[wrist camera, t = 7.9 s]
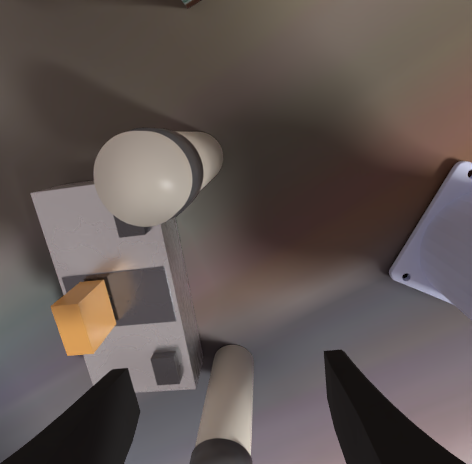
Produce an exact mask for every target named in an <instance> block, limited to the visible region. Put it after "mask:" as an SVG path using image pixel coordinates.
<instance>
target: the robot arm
mask: <svg viewBox="0 0 472 464" xmlns="http://www.w3.org/2000/svg"><path fill="white" fill-rule="evenodd" d="M470 170H472V163H471V162H467V161H459V162H457V163H456V164H455V165H454V166H453V167H452V169H451V171H450V172H449V174H448V176H447V177H446V179H445V180H444V182H443V184H442V185H441V187H440V189H439V190H438V192H437V193H436V195H435V197H434V198H433V200H432V202H431V203H430V205H429V206H428V208H427V210H426V211H425V213H424V215H423V216H422V218H421V219H420V221H419V223H418V224H417V226H416V228H415V229H414V231H413V232H412V234H411V236H410V237H409V239H408V241H407V242H406V244H405V245H404V247H403V249H402V250H401V252H400V254H399V255H398V257H397V258H396V260H395V262H394V263H393V265H392V267H391V268H390V270H389V275H390V277H391V278H392V279H393V280H395V281H397V282H400V283H402V284H405V285H407V286H409V287H412V288H414V289H417V290H419V291H422V292H424V293H426V294H429V295H431V296H434V297H436V298H439V299H441V300H443V301H446V302H448V303H451V304H453V305H455V306H456V307H457V308H458V309H459V310H460V311H461V312H463V313H464V314H465V315H466V316H467V317H468V318H469V319H470V320H472V176H471V177H468V175H467V174H468V172H469V171H470ZM406 273H408V276H407V277H406V278H402V276H403V275H404V274H406ZM324 361H325V374H326V388H327V399H328V403H329V408H330V412H331V416H332V420H333V425H334V429H335V432H336V434H337V437H338V440H339V443H340V446H341V449H342V452H343V455H344V458H345V461H346V464H466V463H464V462H463V461H462V460H460V459H459V458H457V457H456V456H454V455H453V454H451V453H450V452H449V451H447V450H446V449H445V448H444V447H442V446H441V445H440V444H438V443H437V442H436V441H434V440H433V439H432V438H431V437H429V436H428V435H427V434H426V433H425V432H423V431H422V430H421V429H420V428H418V427H417V426H416V425H415V424H414V423H413V422H411V421H410V420H409V419H408V418H407V417H406V416H405V415H404V414H403V413H401V412H400V411H399V410H398V409H397V408H396V407H395V406H394V405H393V404H392V403H391V402H390V401H389V400H388V399H387V398H386V397H385V396H384V395H383V394H382V393H381V392H380V391H379V390H378V389H377V388H376V387H375V386H374V385H373V384H372V383H371V382H370V381H369V380H368V379H367V378H366V377H365V376H364V374H363V373H362V372H361V371H360V370H359V369H358V368H357V367H356V365H355V364H354V363H353V362H352V361H351V359H350V358H349V357H348V356H347V355H346V353H345V352H344V351H342V350H332V351H324ZM139 415H140V409H139V405H138V402H137V398H136V395H135V391H134V388H133V384H132V381H131V377H130V374H129V370H128V368H120V369H112V370H111V371H109V372H108V373H107V374H106V375H105V376H104V377H102V378H101V379H100V380H99V381H98V382H97V383H96V384H95V385H94V386H92V387H91V388H90V389H89V390H88V391H87V392H86V393H85V394H84V395H83V396H82V397H80V398H79V399H78V400H77V401H76V402H75V403H74V404H73V405H72V406H70V407H69V408H68V409H67V410H66V411H65V412H64V413H63V414H61V415H60V416H59V417H58V418H57V419H56V420H54V421H53V422H52V423H51V424H50V425H48V426H47V427H46V428H45V429H44V430H43V431H41V432H40V433H39V434H38V435H37V436H35V437H34V438H33V439H32V440H31V441H29V442H28V443H27V444H25V445H24V446H23V447H22V448H20V449H19V450H18V451H16V452H15V453H14V454H12V455H11V456H10V457H8V458H7V459H6V460H4V461H3V462H2V463H0V464H124V462H125V459H126V457H127V454H128V452H129V449H130V446H131V444H132V441H133V437H134V434H135V430H136V427H137V423H138V419H139Z"/></svg>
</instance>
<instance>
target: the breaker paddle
mask: <svg viewBox="0 0 472 464" xmlns="http://www.w3.org/2000/svg"><path fill="white" fill-rule="evenodd" d="M51 309H52V312H53V315H54V318H55V321H56V324H57V327H58V330H59V332H60V335H61V338H62V341H63V344H64V347H65V350H66V353H67V356H71V355H84V354H94V353H95V351H96V350H97V349H98V347H99V346H100V345H101V344H102V342H103V341H104V340H105V338H106V337H107V336H108V334H109V333H110V332H111V330H112V329H113V328H114V326H115V325H116V320H115V317H114V313H113V310H112V306H111V303H110V299H109V296H108V292H107V289H106V285H105V282H104V280H95V281H85V282H79V283H78V284H77V285H76V286H75V287H73V288H72V289H71V290H70V291H69V292H67V293H66V294H65V295H64V296H62V297H61V298H60V299H59V300H58V301H56V302H55V303H54V304H53V305H52V306H51Z"/></svg>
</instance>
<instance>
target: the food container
mask: <svg viewBox="0 0 472 464" xmlns="http://www.w3.org/2000/svg"><path fill="white" fill-rule="evenodd" d="M182 1H183V3H184V4H185V6H186V7H187V9H188V8H190V7H191V6H193V5H195V4H196V3H198V2H200V1H201V0H182Z"/></svg>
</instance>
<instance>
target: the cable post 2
mask: <svg viewBox="0 0 472 464" xmlns="http://www.w3.org/2000/svg"><path fill="white" fill-rule="evenodd" d="M253 374H254V359H253V356H252V355H251V353H250V352H249V351H248V350H247V349H245V348H244V347H242V346H239V345H227V346H224V347H222V348H220V349H219V350H218V351H217V352H216V354H215V356H214V360H213V365H212V370H211V374H210V379H209V384H208V389H207V393H206V398H205V403H204V407H203V412H202V417H201V422H200V426H199V431H198V436H197V441H196V445H195V448H194V450H193V452H192V455H191V459H190V464H252V458H251V434H252V404H253Z"/></svg>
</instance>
